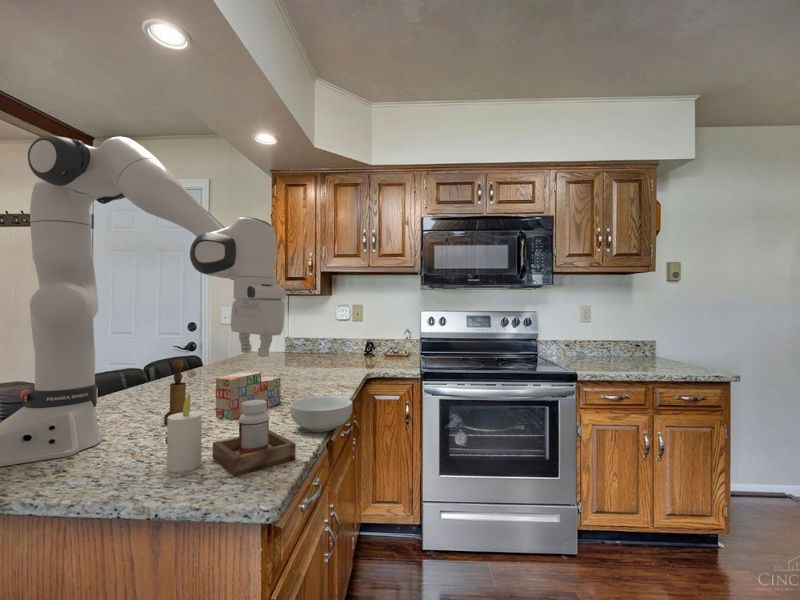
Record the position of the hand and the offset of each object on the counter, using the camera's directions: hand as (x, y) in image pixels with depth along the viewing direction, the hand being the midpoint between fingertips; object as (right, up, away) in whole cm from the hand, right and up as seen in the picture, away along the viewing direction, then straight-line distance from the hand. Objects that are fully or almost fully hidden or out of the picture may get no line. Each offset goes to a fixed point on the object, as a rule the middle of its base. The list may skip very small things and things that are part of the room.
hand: (254, 354), depth 87 cm
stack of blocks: (-16, -24, +41) cm, 50 cm away
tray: (0, -23, 0) cm, 23 cm away
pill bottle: (0, -22, 0) cm, 22 cm away
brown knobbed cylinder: (-32, -24, +28) cm, 49 cm away
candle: (-13, -23, -4) cm, 27 cm away
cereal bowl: (+10, -24, +22) cm, 34 cm away
